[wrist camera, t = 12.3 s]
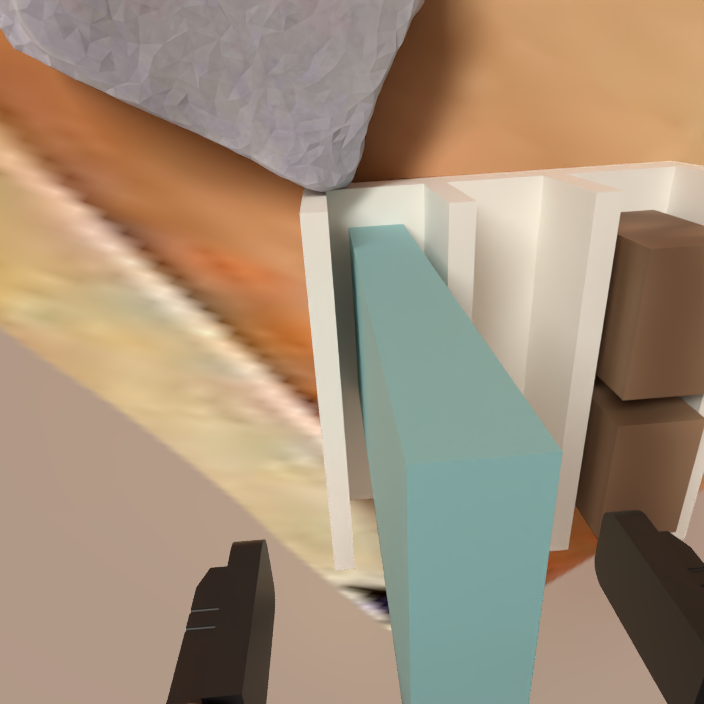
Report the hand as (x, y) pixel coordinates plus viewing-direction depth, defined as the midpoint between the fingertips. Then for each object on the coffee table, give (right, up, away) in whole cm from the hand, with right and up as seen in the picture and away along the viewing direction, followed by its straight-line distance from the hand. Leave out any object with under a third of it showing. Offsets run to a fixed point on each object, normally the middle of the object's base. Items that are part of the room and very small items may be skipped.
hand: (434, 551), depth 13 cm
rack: (+4, +5, +11) cm, 12 cm away
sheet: (-1, +6, +8) cm, 10 cm away
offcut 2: (+8, +2, +11) cm, 14 cm away
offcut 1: (+8, +8, +8) cm, 14 cm away
